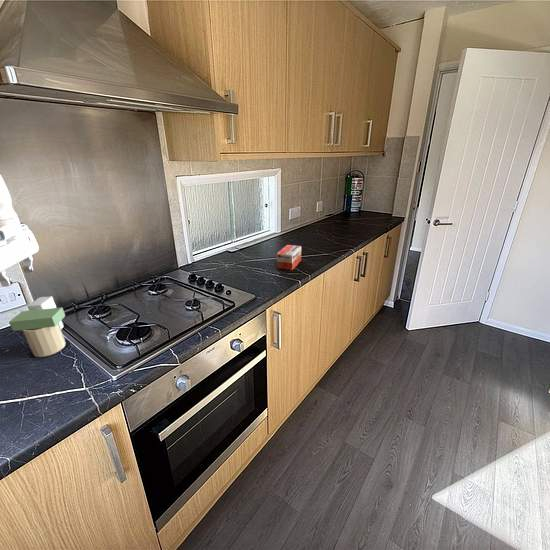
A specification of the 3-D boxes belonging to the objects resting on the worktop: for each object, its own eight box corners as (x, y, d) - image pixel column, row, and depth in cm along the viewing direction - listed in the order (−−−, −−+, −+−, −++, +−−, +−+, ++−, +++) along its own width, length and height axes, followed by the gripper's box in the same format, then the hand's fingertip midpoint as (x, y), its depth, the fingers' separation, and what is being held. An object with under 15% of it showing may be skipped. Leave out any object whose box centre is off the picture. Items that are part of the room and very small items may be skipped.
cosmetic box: (51, 328, 100) (39, 296, 95) (64, 327, 100) (52, 295, 96) (40, 338, 94) (26, 305, 90) (54, 337, 95) (41, 304, 90)
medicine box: (292, 270, 141) (292, 255, 138) (276, 268, 144) (276, 253, 140) (301, 260, 154) (301, 245, 150) (287, 258, 156) (286, 244, 153)
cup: (27, 358, 85) (15, 332, 82) (42, 342, 92) (32, 317, 89) (57, 355, 86) (47, 329, 83) (70, 338, 94) (61, 314, 90)
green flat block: (12, 331, 82) (8, 322, 81) (25, 319, 88) (21, 311, 87) (55, 326, 84) (51, 317, 83) (65, 315, 89) (62, 307, 88)
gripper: (12, 221, 85) (28, 265, 90) (-46, 241, 66) (-21, 295, 72) (36, 220, 86) (51, 264, 91) (-15, 239, 67) (7, 293, 73)
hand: (19, 278), depth 81 cm, fingers open, 8 cm apart
